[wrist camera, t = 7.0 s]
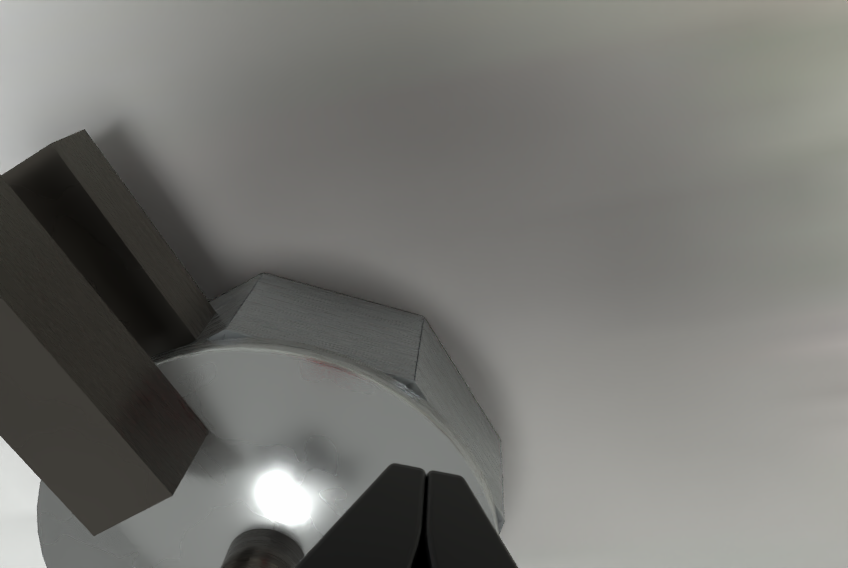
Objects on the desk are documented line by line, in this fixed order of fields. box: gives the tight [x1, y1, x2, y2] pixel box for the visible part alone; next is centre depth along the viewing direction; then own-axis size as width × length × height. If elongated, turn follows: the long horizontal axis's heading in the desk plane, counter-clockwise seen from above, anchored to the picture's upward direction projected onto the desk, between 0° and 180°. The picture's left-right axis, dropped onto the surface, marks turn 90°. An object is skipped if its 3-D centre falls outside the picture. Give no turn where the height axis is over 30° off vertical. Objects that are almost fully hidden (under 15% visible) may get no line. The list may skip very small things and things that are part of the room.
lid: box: [0, 175, 499, 568], centre depth 18 cm, size 17×12×3 cm
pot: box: [1, 129, 504, 534], centre depth 22 cm, size 19×11×4 cm, turn 30°
